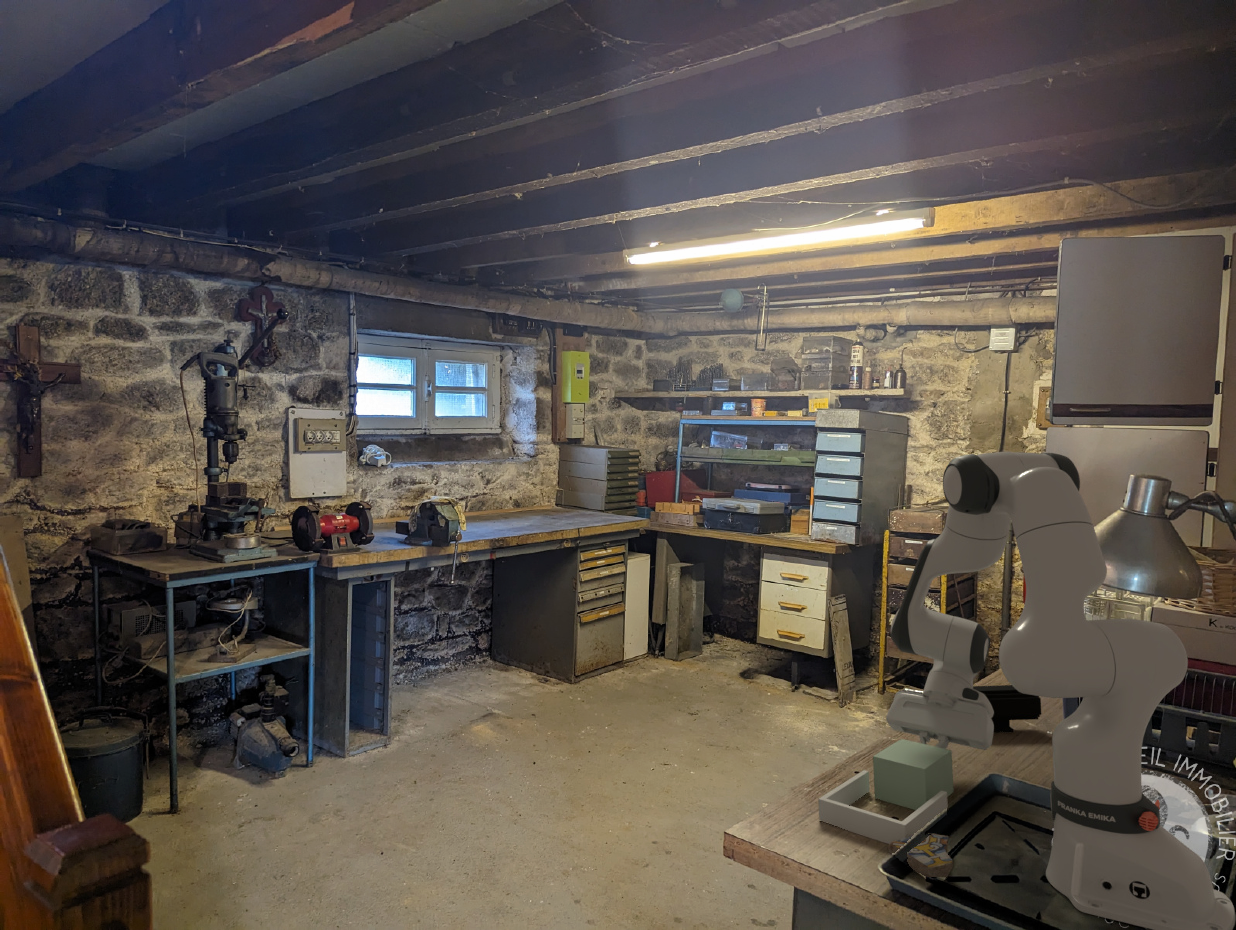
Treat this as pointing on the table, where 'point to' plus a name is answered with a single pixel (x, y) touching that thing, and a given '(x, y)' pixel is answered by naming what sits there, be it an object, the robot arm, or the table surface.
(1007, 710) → the security camera
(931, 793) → the block
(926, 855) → the ceramic tile fragment
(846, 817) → the box
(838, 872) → the table surface
